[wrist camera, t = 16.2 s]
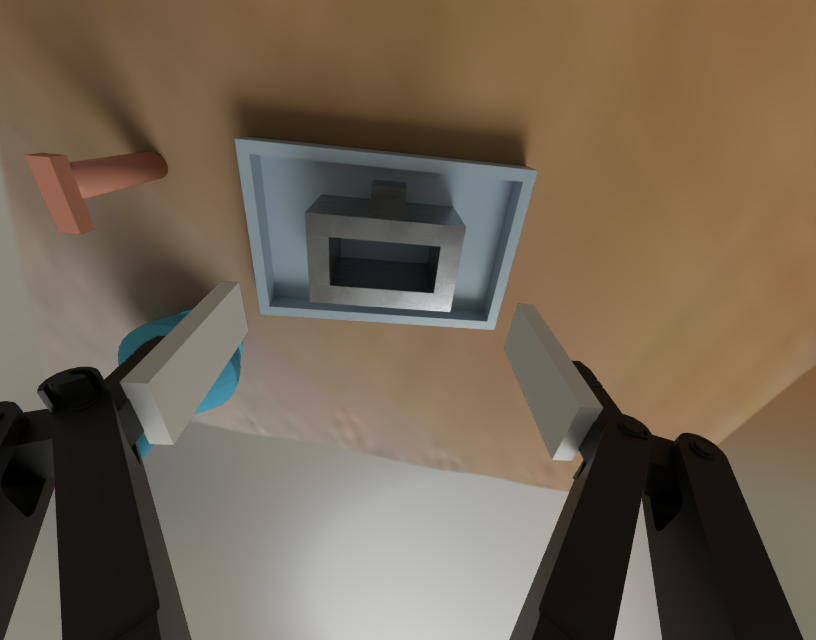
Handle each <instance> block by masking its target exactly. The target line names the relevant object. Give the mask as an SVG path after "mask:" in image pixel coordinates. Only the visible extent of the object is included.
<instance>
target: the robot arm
mask: <svg viewBox="0 0 816 640" xmlns="http://www.w3.org/2000/svg"><path fill="white" fill-rule="evenodd" d="M247 333H248V329H247V323H246V318H245V313H244V308H243V302H242V297H241V292H240V286H239V282H228V281H221V282H220V283H219V284H218V285H217V286H216V287H215V288H214V289H213V290H212V291H211V292H210V293H209V294H208V295H207V296H206V297H205V298H204V299H203V300H202V301H201V302H200V303H199V304H198V305H197V306H196V307H195V308H194V309H193V310H192V311H191V312H190V313H189V314H188V315H187V316H186V317H185V318H184V319H183V320H182V321H181V322H180V323H179V324H178V325H177V326H176V327H175V328H174V329H173V330H172V331H171V332H170V333H169V334H168V335H167V336H156V337H154V338H152V339H150V340H148V341H147V342H145V343H143V344H142V345H141V346H140V347H139V348H138V349H137V350H136V351H135V352H134V354H131V355H130V356H129V357H128V358H127V359H126V360H125V362H123V363H122V364H121V365H120V366H119V367H117V368H116V369H115V370H114V371H113V372H112V373H111V374H110V375H109V376H108V377H107V378H106V379H105V380H104V379H103V377H102V375H101V373H100V372H99V371H98V369H96V368H92V367H77V368H72V369H68V370H65V371H62V372H59V373H57V374H55V375H53V376H51V377H50V378H48V379H46V380H45V381H44V382H43V383H42V384H41V385H40V386H39V388H38V390H37V393H38V395H39V396H40V398H41V399H42V400H43V402H44V404H45V405H46V406H47V408H48V409H43V410H36V411H30V412H24V413H23V411H22V410H21V409H20V407H19V406H18V405H17V404H16V403H14V402H8V401H3V402H0V640H4V637H5V634H6V631H7V628H8V625H9V622H10V619H11V616H12V613H13V610H14V607H15V604H16V601H17V598H18V595H19V592H20V589H21V586H22V582H23V579H24V577H25V574H26V571H27V568H28V565H29V562H30V559H31V556H32V553H33V550H34V547H35V544H36V541H37V538H38V535H39V532H40V529H41V526H42V523H43V519H44V517H45V514H46V511H47V508H48V505H49V502H50V499H51V496H52V493H53V490H54V487H55V499H56V500H55V501H56V521H57V539H58V540H57V541H58V558H59V559H58V560H59V579H60V599H61V619H62V637H63V638H62V640H191V636H190V633H189V629H188V626H187V622H186V618H185V614H184V611H183V607H182V604H181V600H180V596H179V592H178V589H177V585H176V582H175V578H174V574H173V571H172V567H171V563H170V560H169V556H168V552H167V549H166V545H165V541H164V538H163V534H162V530H161V527H160V523H159V519H158V516H157V512H156V508H155V505H154V501H153V497H152V494H151V490H150V487H149V483H148V479H147V476H146V472H145V469H144V465H143V461H142V457H141V454H140V450H139V447H138V445H137V443H136V441H137V440H138V439H139V438H140V436H141V435H142V434H143V432H144V434H145V436H146V438H147V440H148V442H149V444H169V445H174V443H175V442H176V440H177V439H178V437H179V436H180V434H181V433H182V431H183V430H184V428H185V427H186V425H187V424H188V422H189V421H190V419H191V418H192V416H193V415H194V413H195V412H196V410H197V408H198V407H199V405H200V404H201V402H202V401H203V399H204V398H205V396H206V395H207V393H208V392H209V390H210V389H211V387H212V386H213V384H214V383H215V381H216V380H217V378H218V377H219V375H220V374H221V372H222V371H223V369H224V368H225V366H226V365H227V363H228V362H229V360H230V359H231V357H232V356H233V354H234V352H235V351H236V349H237V348H238V346H239V345H240V343H241V342H242V340H243V339H244V337H245V336H246V334H247ZM504 350H505V353H506V355H507V357H508V360H509V362H510V364H511V366H512V369H513V371H514V373H515V376H516V378H517V380H518V383H519V385H520V387H521V389H522V392H523V394H524V396H525V399H526V401H527V403H528V406H529V408H530V410H531V412H532V415H533V417H534V419H535V422H536V424H537V426H538V429H539V431H540V433H541V435H542V438H543V440H544V442H545V445H546V447H547V449H548V452H549V454H550V456H551V458H552V460H567V461H573V459H574V457H575V455H576V454H577V452H578V450H579V451H580V453H581V455H582V457H583V459H584V460H583V462H582V463H581V465H580V467H579V468H578V470H577V472H576V473H575V475H574V477H573V479H575V480H574V482H573V485H572V487H571V490H570V492H569V495H568V497H567V500H566V502H565V504H564V507H563V510H562V512H561V514H560V517H559V519H558V521H557V524H556V526H555V529H554V531H553V534H552V537H551V539H550V542H549V544H548V546H547V549H546V551H545V553H544V556H543V558H542V561H541V563H540V566H539V568H538V571H537V573H536V576H535V578H534V581H533V583H532V585H531V588H530V590H529V593H528V595H527V598H526V600H525V603H524V605H523V608H522V610H521V613H520V615H519V617H518V620H517V622H516V625H515V627H514V630H513V632H512V635H511V637H510V640H614V635H615V630H616V625H617V620H618V615H619V610H620V604H621V600H622V594H623V589H624V584H625V579H626V574H627V569H628V564H629V559H630V554H631V549H632V543H633V538H634V534H635V528H636V523H637V519H638V513H639V508H640V503H641V498H642V502H643V509H644V516H645V523H646V529H647V537H648V543H649V551H650V558H651V563H652V571H653V578H654V585H655V592H656V599H657V606H658V613H659V620H660V627H661V634H662V640H803V637H802V635H801V633H800V630H799V628H798V626H797V623H796V621H795V619H794V616H793V614H792V611H791V609H790V607H789V604H788V602H787V599H786V597H785V595H784V592H783V590H782V587H781V585H780V583H779V581H778V578H777V576H776V573H775V571H774V568H773V566H772V564H771V561H770V559H769V557H768V554H767V552H766V549H765V547H764V545H763V542H762V540H761V537H760V535H759V533H758V530H757V528H756V526H755V523H754V521H753V519H752V516H751V514H750V511H749V509H748V507H747V504H746V502H745V499H744V497H743V495H742V492H741V490H740V488H739V485H738V483H737V480H736V478H735V476H734V474H733V471H732V469H731V466H730V464H729V461H728V459H727V457H726V456H725V454H724V453H723V452H722V451H721V450H720V449H719V448H718V447H717V446H716V445H715V444H714V443H712V442H710V441H709V440H707V439H706V438H703V437H701V436H699V435H696V434H692V433H682V434H681V435H679V436H678V438H677V439H676V440H675V441H672V440H668V439H665V438H662V437H658V436H655V435H652V434H651V432H650V431H649V429H648V428H647V427H646V426H645V425H644V424H643V423H641V422H640V421H638V420H637V419H635V418H633V417H631V416H628V415H625V414H622V413H621V411H620V410H619V408H618V407H617V406H616V404H615V403H614V402H613V400H612V399H611V397H610V396H609V395H608V393H607V392H606V391H605V389H604V388H602V387H603V386H602V385H601V384H600V382H599V381H597V378H596V377H595V375H594V374H593V373H592V371H591V370H590V369H589V368H588V367H586V366H585V365H584V364H582V363H581V362H580V361H571V359H570V358H569V357H568V355H567V354H566V352H565V351H564V349H563V348H562V346H561V345H560V343H559V342H558V340H557V339H556V337H555V336H554V334H553V333H552V331H551V330H550V329H549V327H548V326H547V324H546V323H545V321H544V320H543V318H542V317H541V315H540V314H539V312H538V311H537V309H536V308H535V306H534V305H533V304H520V303H518V305H517V308H516V311H515V314H514V317H513V320H512V324H511V327H510V330H509V333H508V336H507V340H506V343H505V346H504Z"/></svg>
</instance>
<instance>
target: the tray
mask: <svg viewBox="0 0 816 640" xmlns="http://www.w3.org/2000/svg"><path fill="white" fill-rule="evenodd" d="M235 145H236V152H237V159H238V165H239V172H240V179H241V186H242V192H243V199H244V206H245V212H246V219H247V226H248V233H249V239H250V246H251V253H252V260H253V266H254V273H255V280H256V286H257V293H258V300H259V307H260V313H261V314H264V315H279V316H294V317H309V318H324V319H339V320H354V321H368V322H383V323H398V324H413V325H428V326H443V327H458V328H473V329H488V330H494V328H495V325H496V321H497V317H498V314H499V310H500V306H501V303H502V299H503V296H504V292H505V288H506V285H507V281H508V277H509V274H510V270H511V266H512V263H513V259H514V255H515V252H516V248H517V245H518V241H519V237H520V234H521V230H522V226H523V223H524V219H525V215H526V212H527V208H528V205H529V201H530V197H531V194H532V190H533V186H534V183H535V179H536V175H537V172H538V170H535V169H532V168H530V167H527V166H522V165H513V164H504V163H494V162H485V161H475V160H466V159H457V158H447V157H438V156H429V155H419V154H410V153H400V152H391V151H382V150H372V149H363V148H353V147H344V146H335V145H325V144H316V143H306V142H297V141H288V140H278V139H269V138H259V137H250V136H249V137H242V138H235ZM374 179H376V180H386V181H396V182H406V185H407V195H406V202H409V203H419V204H430V205H440V206H451V207H454V208H455V210H456V211H457V213H458V215H459V216H460V218H461V219H462V221H463V223H464V224H465V226H466V231H465V237H464V242H463V247H462V253H461V258H460V263H459V268H458V274H457V279H456V284H455V290H454V295H453V300H452V305H451V311H450V312H442V311H427V310H413V309H399V308H385V307H371V306H357V305H343V304H329V303H315V302H310V295H309V278H308V261H307V244H306V227H305V211H306V210H307V209H308V208H309V207H310V206H311V205H312V204H313V203H314V202H315V201H316V200H317V199H318V198H319V196H320V195H321V194H325V195H336V196H346V197H357V198H367V199H371V187H372V182H373V180H374ZM429 249H430V246H427V245H416V244H404V243H393V242H381V241H369V240H358V239H346V238H341V257H351V258H363V259H375V260H388V261H400V262H412V263H424V264H428V257H429Z"/></svg>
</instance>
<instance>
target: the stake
mask: <svg viewBox="0 0 816 640" xmlns="http://www.w3.org/2000/svg"><path fill="white" fill-rule="evenodd" d="M25 158H26V160H27V162H28V164H29V167H30V169H31V171H32V174H33V176H34V178H35V180H36V183H37V185H38V187H39V189H40V192H41V194H42V196H43V198H44V201H45V203H46V205H47V207H48V210H49V212H50V214H51V216H52V219H53V221H54V223H55V225H56V228H57V230H58V232H59V233H69V234H83V233H86V232H88V231H91V230H94V226H93V224H92V221H91V218H90V216H89V213H88V211H87V208H86V205H85V203H84V200H83V199H86V198H89V197H93V196H97V195H101V194H104V193H108V192H112V191H115V190H119V189H123V188H126V187H130V186H134V185H138V184H141V183H145V182H149V181H152V180H156V179H160V178H163V177H165V176H166V174H167V172H168V167H167V164H166V162H165V160H164V159H163V158H162V157H161V156H160V155H159V154H157V153H155V152H152V151H146V152H139V153H132V154H125V155H119V156H112V157H105V158H98V159H91V160H85V161H78V162H71V163H69V161H68V159H67V156H66V155H59V154H49V153H37V154H28V155H25Z"/></svg>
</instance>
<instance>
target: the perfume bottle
mask: <svg viewBox="0 0 816 640" xmlns="http://www.w3.org/2000/svg"><path fill="white" fill-rule="evenodd" d="M191 311H192V310H186V311H183V312H181V313H179V314H176V315H172V316H169V317H167V318H162V319H158V320H155V321H152V322H149V323H146V324H144V325H142V326H140V327H138V328H137V329H135V330H134V331H132V332H130V333H129V334H128V335H127V336H126V337H125V338H124V339H123V340H122V342H121V344H120V346H119V351H118V363H119V366H120V365H121V364H122V363H123V362H125V360H126V359H127V358H128V357H129V356H130V355H131V354H134V352H135V351H136V350H137V349H138V348H139V347H140V346H141V345H142V344H143V343H145V342H147V341H148V340H150V339H152V338H154V337H156V336H167V335H168V334H169V333H170V332H171V331H172V330H173V329H174V328H175V327H176V326H177V325H178V324H179V323H180V322H181V321H182V320H183V319H184V318H185V317H186V316H187V315H188V314H189V313H190V312H191ZM241 351H242V342H241V343H240V345H239V346H238V348H237V349H236V351H235V352H234V354H233V356H232V357H231V359H230V360H229V362H228V363H227V365H226V366H225V368H224V369H223V371H222V372H221V374H220V375H219V377H218V378H217V380H216V381H215V383H214V384H213V386H212V387H211V389H210V390H209V392H208V393H207V395H206V396H205V398H204V399H203V401H202V402H201V404H200V405H199V407H198V408H197V410H196V412H195V413H194V414H196V413H200V412H203V411H206V410H209V409H212V408H215V407H217V406H220V405H222V404H223V403H225V402H226V401H227V400H229V399H230V397H231V396H232V395H233V393H234V391H235V389H236V386H237V384H238V381H239V376H240V360H241ZM136 443H137V445H138V447H139V450H140V454H141V457H142V460H143V458H144V457H145V455H146V454H147V453H148V451H149V450H150V449H151V447H152V446H153V444H149V442H148V440H147V438H146V436H145V434H144V432H143V434H142V435H141V436H140V438H139V439H138V440H137V441H136ZM54 491H55V487H54Z"/></svg>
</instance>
